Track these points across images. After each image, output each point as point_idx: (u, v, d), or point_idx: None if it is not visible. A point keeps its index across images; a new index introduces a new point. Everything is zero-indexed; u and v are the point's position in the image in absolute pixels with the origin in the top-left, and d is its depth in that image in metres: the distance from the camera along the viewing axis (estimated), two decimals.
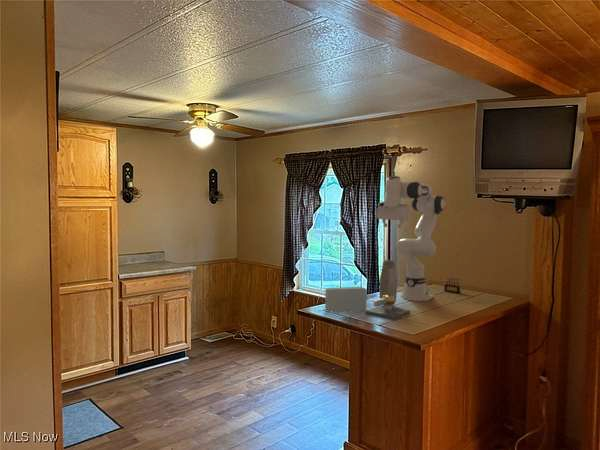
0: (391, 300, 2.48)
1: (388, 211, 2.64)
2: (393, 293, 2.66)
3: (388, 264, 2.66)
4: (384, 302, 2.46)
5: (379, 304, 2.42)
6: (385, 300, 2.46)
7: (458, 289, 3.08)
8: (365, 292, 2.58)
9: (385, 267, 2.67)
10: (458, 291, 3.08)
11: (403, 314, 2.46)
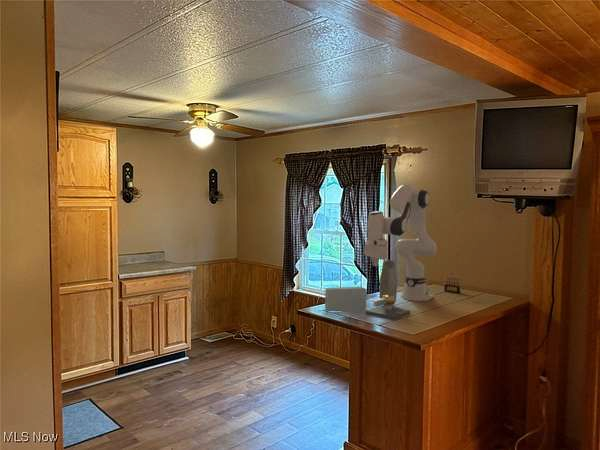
0: (391, 300, 2.48)
1: None
2: (393, 293, 2.66)
3: (388, 264, 2.66)
4: (384, 302, 2.46)
5: (379, 304, 2.42)
6: (385, 300, 2.46)
7: (458, 289, 3.08)
8: (365, 292, 2.58)
9: (385, 267, 2.67)
10: (458, 291, 3.08)
11: (403, 314, 2.46)
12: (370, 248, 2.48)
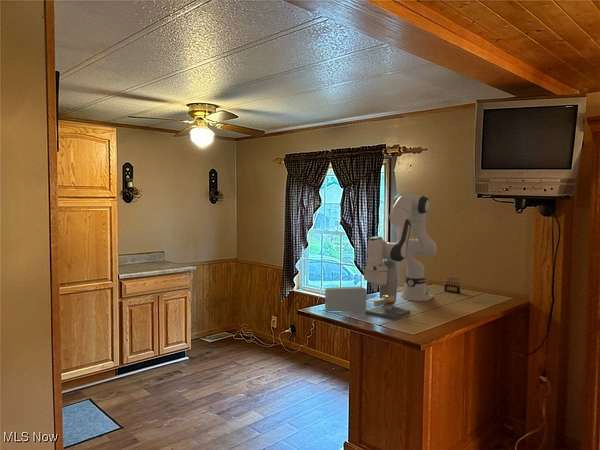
0: (391, 300, 2.48)
1: None
2: (393, 293, 2.66)
3: (388, 264, 2.66)
4: (384, 302, 2.46)
5: (379, 304, 2.42)
6: (385, 300, 2.46)
7: (458, 289, 3.08)
8: (365, 292, 2.58)
9: None
10: (458, 291, 3.08)
11: (403, 314, 2.46)
12: (370, 273, 2.49)
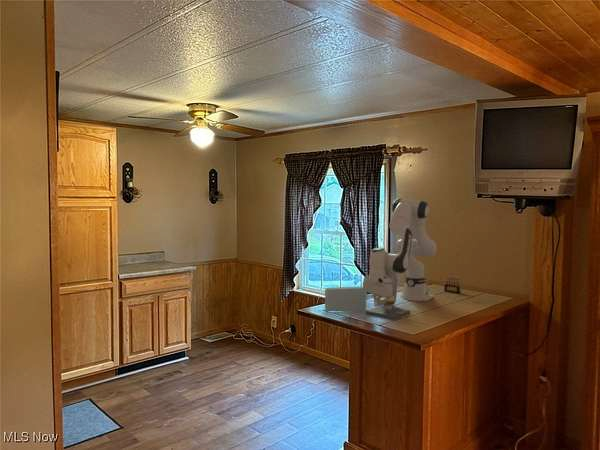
0: (392, 300, 2.48)
1: None
2: (393, 293, 2.66)
3: None
4: (384, 302, 2.46)
5: (379, 304, 2.42)
6: (385, 300, 2.46)
7: (458, 289, 3.08)
8: (365, 292, 2.58)
9: None
10: (458, 291, 3.08)
11: (403, 314, 2.46)
12: (371, 285, 2.47)
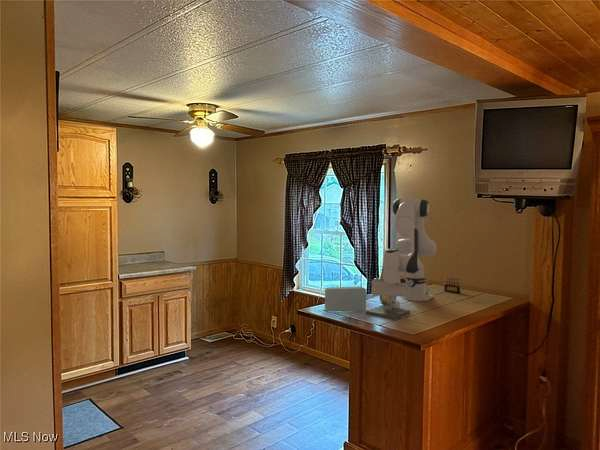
0: (394, 299, 2.50)
1: None
2: None
3: None
4: None
5: None
6: None
7: (458, 289, 3.08)
8: (365, 292, 2.58)
9: None
10: (458, 291, 3.08)
11: (403, 314, 2.46)
12: (386, 287, 2.40)
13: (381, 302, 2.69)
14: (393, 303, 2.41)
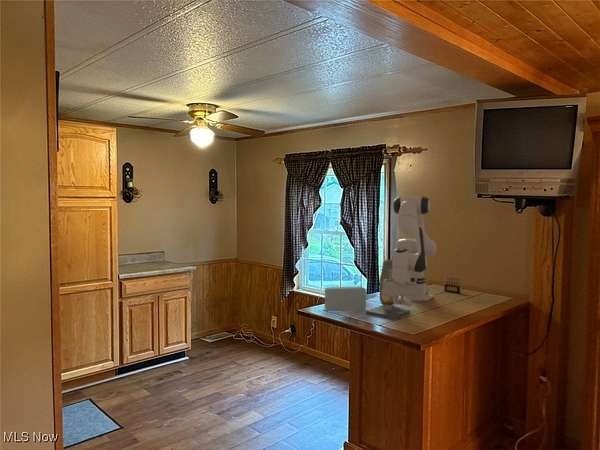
0: None
1: None
2: None
3: (388, 264, 2.66)
4: None
5: None
6: None
7: (458, 289, 3.08)
8: (364, 292, 2.58)
9: (385, 267, 2.67)
10: (458, 291, 3.08)
11: (403, 314, 2.46)
12: (397, 287, 2.40)
13: (381, 302, 2.69)
14: (403, 302, 2.43)
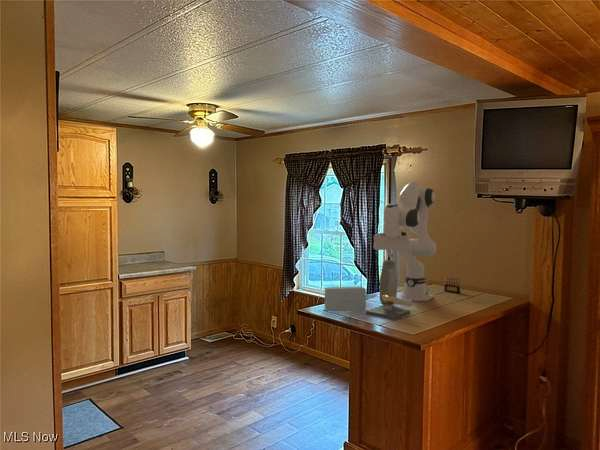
0: None
1: None
2: (393, 293, 2.66)
3: (388, 264, 2.66)
4: None
5: None
6: None
7: (458, 289, 3.08)
8: (364, 292, 2.59)
9: (385, 267, 2.67)
10: (458, 291, 3.08)
11: (403, 314, 2.46)
12: (387, 241, 2.48)
13: (381, 302, 2.69)
14: (403, 302, 2.43)
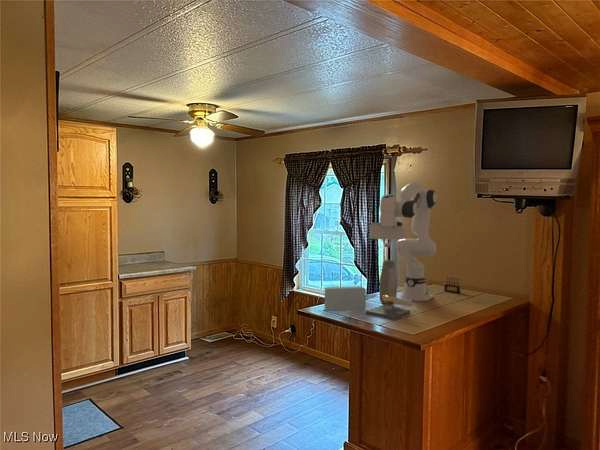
0: None
1: None
2: (393, 293, 2.66)
3: (388, 264, 2.66)
4: None
5: None
6: None
7: (458, 289, 3.08)
8: (364, 292, 2.59)
9: (385, 267, 2.67)
10: (458, 291, 3.08)
11: (403, 314, 2.46)
12: (383, 230, 2.55)
13: (381, 302, 2.69)
14: (403, 302, 2.43)
